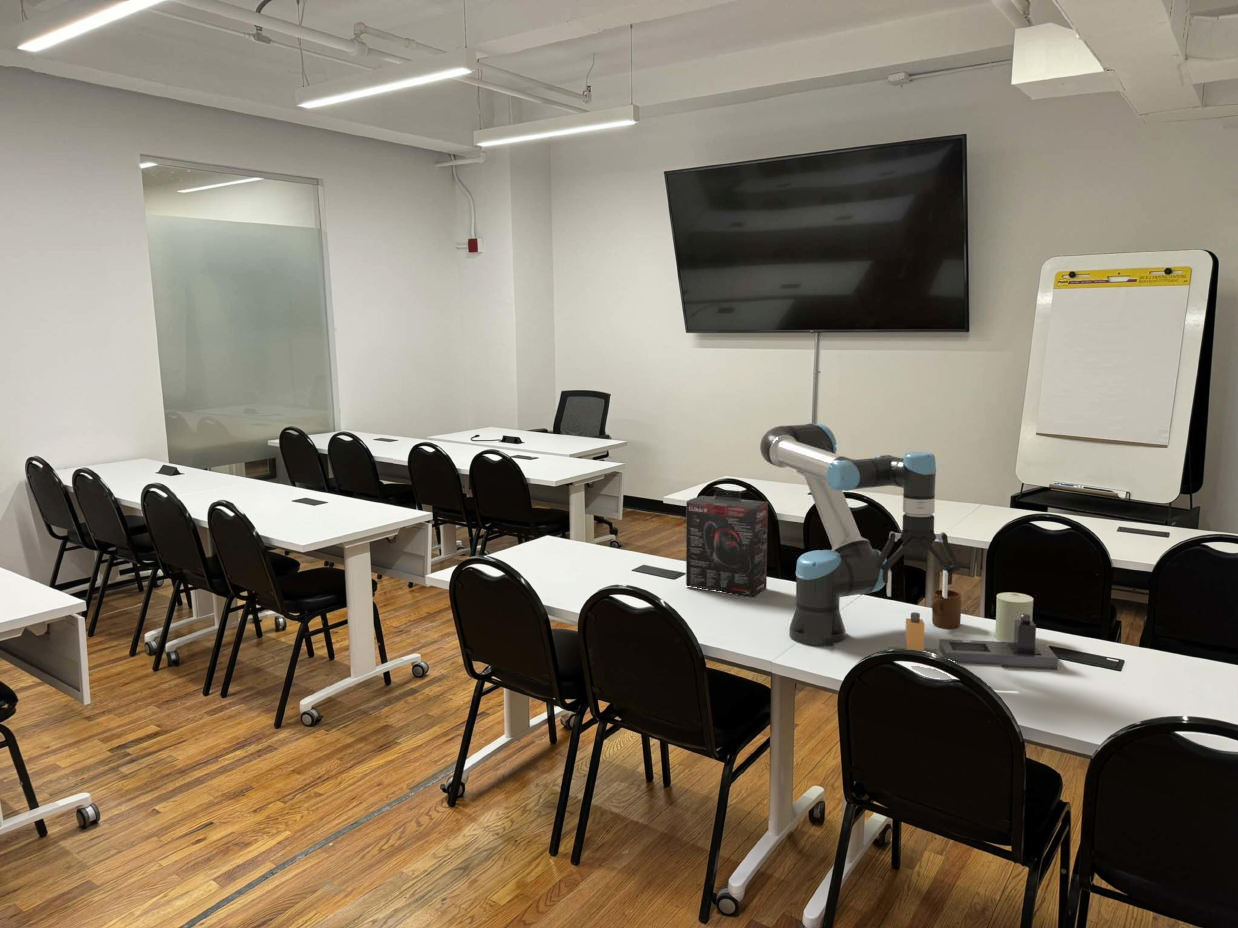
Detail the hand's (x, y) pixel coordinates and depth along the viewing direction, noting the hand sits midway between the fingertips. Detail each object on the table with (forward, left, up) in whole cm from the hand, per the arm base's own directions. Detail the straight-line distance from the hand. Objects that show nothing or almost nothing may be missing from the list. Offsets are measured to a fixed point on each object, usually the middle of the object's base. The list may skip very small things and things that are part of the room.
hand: (916, 596), depth 219 cm
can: (+28, +18, -17) cm, 37 cm away
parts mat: (0, 0, -16) cm, 16 cm away
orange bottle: (0, 0, -16) cm, 16 cm away
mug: (+11, +25, -17) cm, 32 cm away
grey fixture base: (+20, +1, -16) cm, 26 cm away
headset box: (-52, +55, -17) cm, 78 cm away
